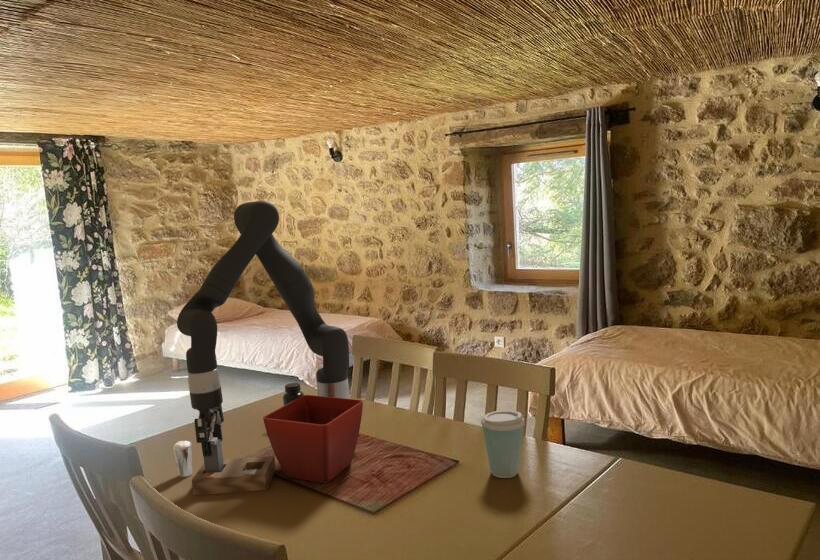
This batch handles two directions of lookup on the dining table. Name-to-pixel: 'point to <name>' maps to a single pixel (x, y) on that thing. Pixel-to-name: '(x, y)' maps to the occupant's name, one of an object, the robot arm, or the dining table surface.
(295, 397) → the supplement bottle
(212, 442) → the plug
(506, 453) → the disposable coffee cup
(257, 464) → the port deck
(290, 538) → the dining table surface
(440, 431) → the dining table surface
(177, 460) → the milkshake
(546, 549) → the dining table surface
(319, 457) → the plant pot
